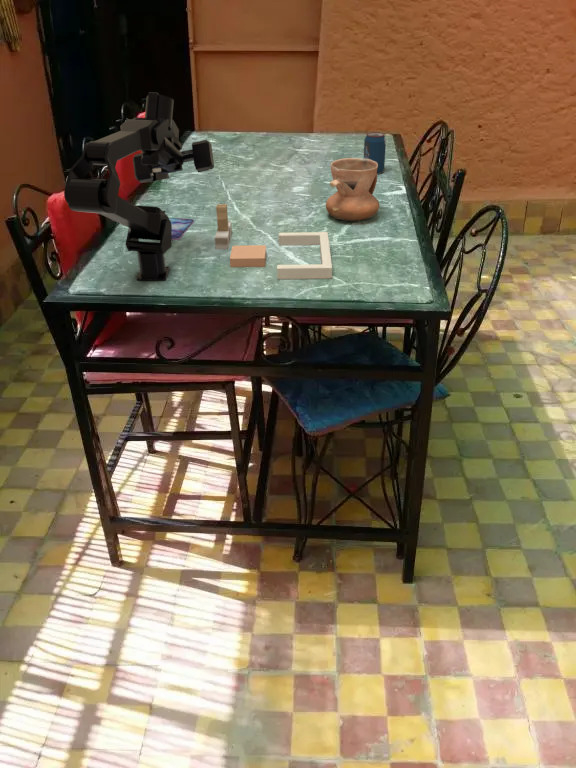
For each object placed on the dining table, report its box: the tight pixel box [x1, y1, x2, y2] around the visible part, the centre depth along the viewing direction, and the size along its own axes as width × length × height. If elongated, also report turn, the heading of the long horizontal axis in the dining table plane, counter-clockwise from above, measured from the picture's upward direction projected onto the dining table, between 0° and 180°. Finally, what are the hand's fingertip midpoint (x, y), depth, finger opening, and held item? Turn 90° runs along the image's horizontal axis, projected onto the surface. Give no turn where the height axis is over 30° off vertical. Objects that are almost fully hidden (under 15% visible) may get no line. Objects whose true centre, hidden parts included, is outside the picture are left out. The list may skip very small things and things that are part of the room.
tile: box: [229, 244, 267, 268], centre depth 149 cm, size 8×8×2 cm
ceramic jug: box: [325, 157, 380, 222], centre depth 170 cm, size 18×14×14 cm
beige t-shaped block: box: [214, 203, 233, 250], centre depth 158 cm, size 12×3×9 cm, turn 179°
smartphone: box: [168, 217, 195, 242], centre depth 167 cm, size 7×1×15 cm
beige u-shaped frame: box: [276, 231, 333, 280], centre depth 149 cm, size 12×22×2 cm, turn 0°
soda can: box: [363, 131, 387, 175], centre depth 206 cm, size 7×7×12 cm
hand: (185, 172), depth 155 cm, fingers open, 9 cm apart
